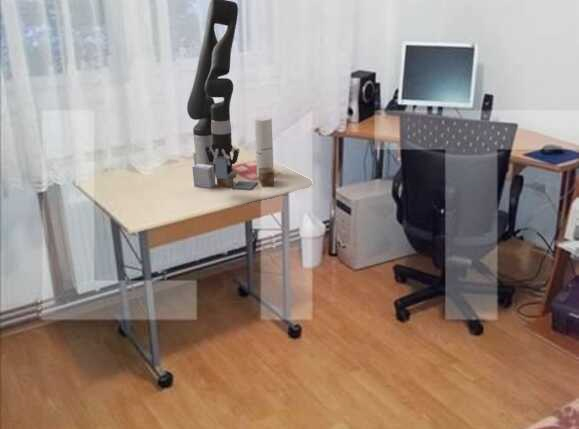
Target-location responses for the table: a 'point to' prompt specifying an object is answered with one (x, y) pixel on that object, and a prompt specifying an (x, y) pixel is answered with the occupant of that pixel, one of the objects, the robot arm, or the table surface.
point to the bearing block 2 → (266, 176)
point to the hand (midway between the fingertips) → (223, 172)
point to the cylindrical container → (263, 142)
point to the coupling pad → (244, 185)
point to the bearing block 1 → (226, 180)
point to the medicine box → (204, 175)
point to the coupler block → (221, 168)
